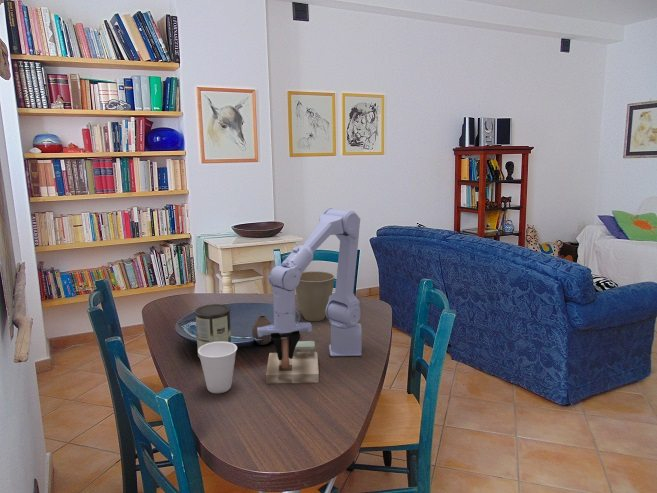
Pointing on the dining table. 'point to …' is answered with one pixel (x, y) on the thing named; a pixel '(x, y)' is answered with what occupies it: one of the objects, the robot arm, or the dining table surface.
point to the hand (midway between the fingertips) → (285, 358)
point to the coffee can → (212, 324)
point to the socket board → (293, 369)
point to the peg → (285, 352)
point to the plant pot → (314, 294)
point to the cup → (218, 365)
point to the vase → (261, 322)
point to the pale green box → (305, 347)
